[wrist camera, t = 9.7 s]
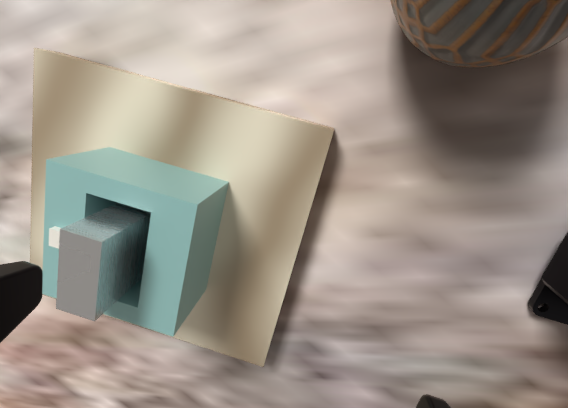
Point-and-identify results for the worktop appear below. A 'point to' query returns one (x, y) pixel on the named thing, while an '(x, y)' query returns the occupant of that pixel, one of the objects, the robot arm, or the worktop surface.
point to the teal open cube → (162, 229)
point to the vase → (482, 28)
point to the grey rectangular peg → (101, 259)
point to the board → (202, 159)
